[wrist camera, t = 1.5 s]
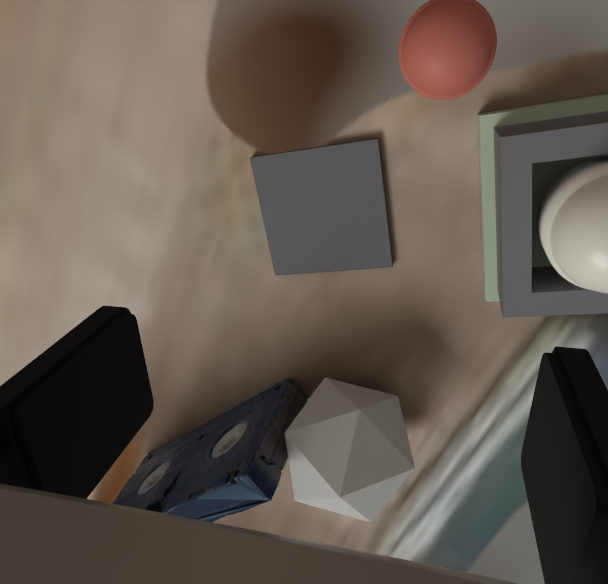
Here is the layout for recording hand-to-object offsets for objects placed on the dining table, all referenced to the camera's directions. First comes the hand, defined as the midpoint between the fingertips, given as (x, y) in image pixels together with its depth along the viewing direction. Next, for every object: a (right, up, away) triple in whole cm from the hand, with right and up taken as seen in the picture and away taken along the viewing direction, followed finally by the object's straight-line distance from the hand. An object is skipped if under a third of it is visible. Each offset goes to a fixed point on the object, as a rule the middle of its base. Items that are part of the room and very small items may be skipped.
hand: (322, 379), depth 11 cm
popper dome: (+15, +6, +14) cm, 21 cm away
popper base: (+15, +7, +16) cm, 23 cm away
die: (+6, -5, +23) cm, 25 cm away
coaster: (+1, +7, +20) cm, 22 cm away
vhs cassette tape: (-7, -10, +31) cm, 34 cm away
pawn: (+7, +15, +15) cm, 22 cm away
